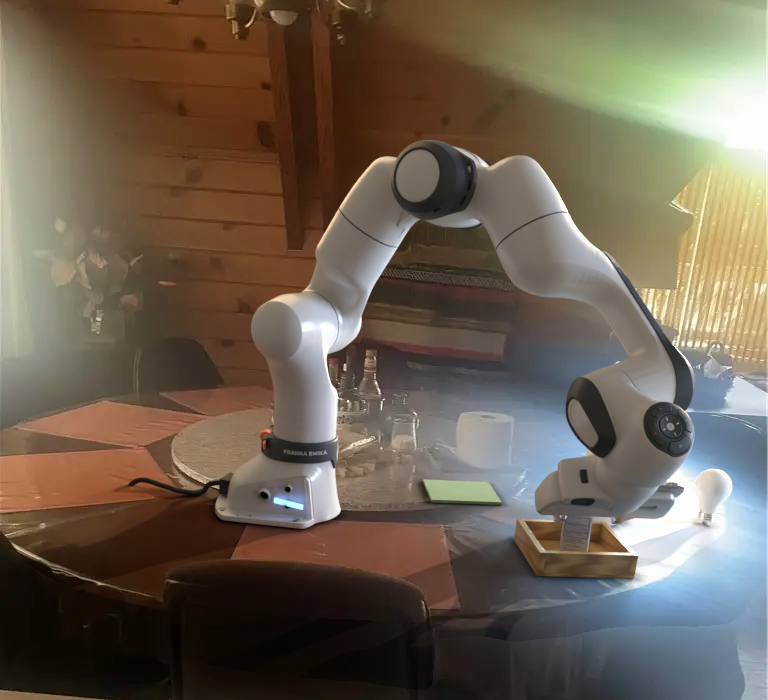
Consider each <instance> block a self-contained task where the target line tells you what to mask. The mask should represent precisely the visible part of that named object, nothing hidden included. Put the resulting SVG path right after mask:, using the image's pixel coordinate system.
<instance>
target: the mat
mask: <svg viewBox="0 0 768 700" xmlns="http://www.w3.org/2000/svg"><path fill="white" fill-rule="evenodd" d="M422 483H423V486H424V488H425V491H426V493H427V496H428V497H429V500H430V502H431V503H434V504H435V503H436V504H437V503H439V504H462V505H463V504H466V505H467V504H468V505H489V506H490V505H491V506H497V505H498V506H502V505H503V502H502V500H501V498H500V497H499V495H498V494H497V493H496V490H494V488H493V486H492V485H491V484H490V482H489V481H474V480H473V481H472V480H450V479H422Z"/></svg>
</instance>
